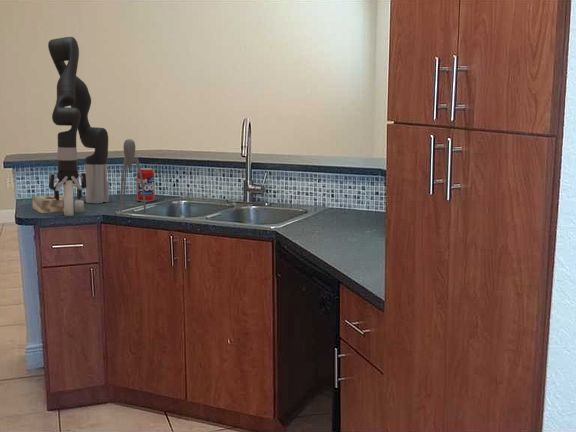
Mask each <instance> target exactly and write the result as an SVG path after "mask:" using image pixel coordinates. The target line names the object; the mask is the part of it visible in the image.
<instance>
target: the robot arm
mask: <svg viewBox="0 0 576 432" xmlns="http://www.w3.org/2000/svg"><path fill="white" fill-rule="evenodd" d="M47 47H48V48H47V49H48V51H49V52H48V53H49V55H50V57H51V60H52V62H53V64H54V67H55V68H56V71H57V73H58V75H59V78H58V81H57V84H56V102H55V106H54V108H53V111H52V113H51V114H52V115H51V119H52V122H53V124H54V125H55V126H62V127H63V126H68V127H69V126H70V129H69V130H65V131H61V132H58V133H57V159H56V160H57V173H50V174H49V175H48V177H49V178H48V188H49V190H53V196H54V198H55V199H56V200H59V196H60V191H59V190H60V189H61V187H62V186H63V184H65V181H69V180H73V186H75V187H76V188H77V189H76V198H77V199H76V200H81V198H82V197H83V194H82V193H83V189H85V203H86V204H104V203H103V202H106V203H109V201H110V198H109V195H110V191H109V187H110V186H109V185H110V184H109V180H108V174H107V171H108V170H107V169H108V168H107V164H108V163H107V160H108V157H109V134H108V131H107V129H106V128H104V127H94V126H93V127H92V126H91V125H90V122H89V118H88V117H89V112H90V109H91V105H92V97H91V94H90V92H89V89H88V86H87V84H86V83H85V82H84V81H83V80H82V79H81V78H79V77H78V76H77V71H78V66H79V65H78V64H79V58H80V57H79V56H80V48H79V44H78V41H77V40H76V38H75V37H74V36H64V37H59V38H52V39H50V40H49V41H48V43H47ZM66 62H67V64H66ZM77 134H78V136H79V139H80V140H79V141H80V142H81V144H82V146H83V147H84V148H87V149H94V152H93V154H91V155H89V156H86V157H85V159H84V169H85V171H84V172H80V173H79V172H78V151H77V150H78V148H77ZM56 178H57V179H58V181H57V182H56V184H55V180H56ZM78 178H79V179H80V182H79V180H77V179H78Z"/></svg>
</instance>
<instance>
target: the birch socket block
mask: <svg viewBox="0 0 576 432" xmlns="http://www.w3.org/2000/svg"><path fill="white" fill-rule="evenodd" d="M31 199H32V210H34V211H36V212H38V213H40V214H51V213H62V212H63V213H64V195H60V194H59V200H56V199H55V198H54V195H47V196H46V195H45V196H32V198H31Z"/></svg>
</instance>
